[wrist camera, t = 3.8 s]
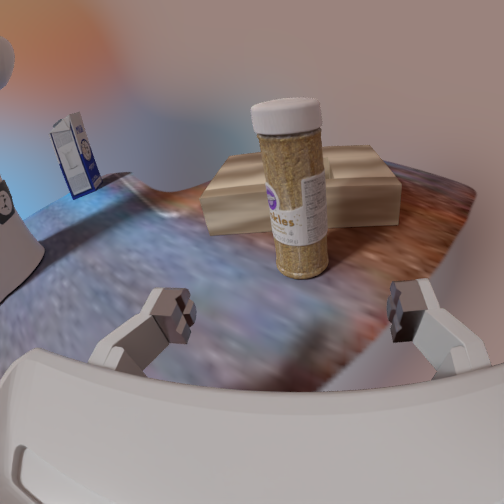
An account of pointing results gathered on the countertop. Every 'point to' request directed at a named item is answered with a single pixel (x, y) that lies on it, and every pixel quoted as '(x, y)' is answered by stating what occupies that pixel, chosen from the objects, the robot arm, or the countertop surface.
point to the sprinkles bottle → (294, 182)
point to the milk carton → (75, 156)
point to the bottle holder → (337, 192)
